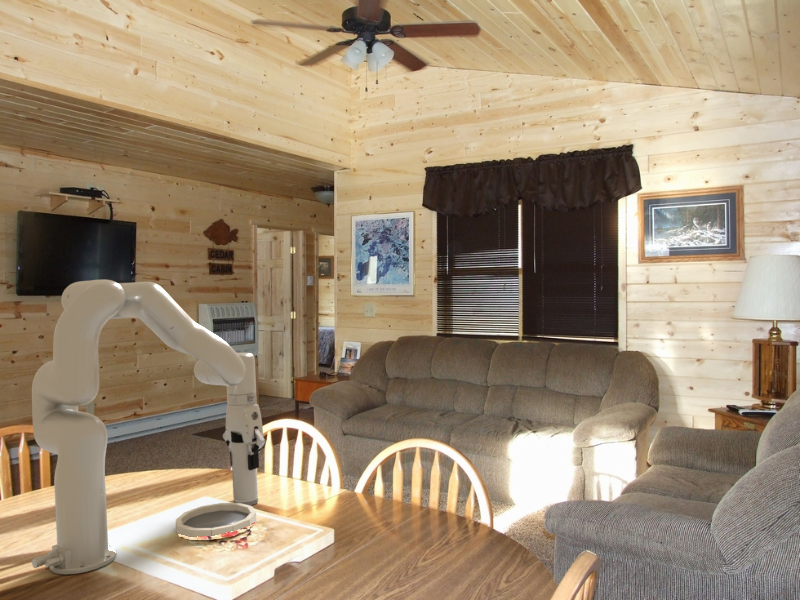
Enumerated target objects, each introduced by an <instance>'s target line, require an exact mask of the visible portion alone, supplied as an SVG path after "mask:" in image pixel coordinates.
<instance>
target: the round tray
mask: <svg viewBox="0 0 800 600" xmlns="http://www.w3.org/2000/svg"><path fill="white" fill-rule="evenodd" d="M254 522H256V523H257V511H256V510H255V508H254V507H253V505H251V506H250V505H246V504H242V503H234V502H219V503H213V504H207V505H202V506H198V507H195V508H193V509H191V510H190V509H189V510H187V511H185V512H183V513H182V514H181V515H179V516H178V517H176V519H175V529H176V528H177V531H176V533H177V532H178V534H181V535H185V536H188V537H197V536H198V537H199V536H215V535H219V534H223V533H226V532H231V531H235V530H238V529H241V528H244V527H247V526H250V525H251V524H252V523H254Z"/></svg>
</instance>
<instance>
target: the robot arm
mask: <svg viewBox="0 0 800 600" xmlns="http://www.w3.org/2000/svg"><path fill="white" fill-rule="evenodd" d="M60 298H61V299H60V302H61V305H62V308H63V311H62V312H61V315H60V316H59V317H58V319H57V322H56V325H55V328H54V333H53V344H52V345H53V347H52V348H53V349H52V360H49V361H47V362H45V363H44V364H42V365H41V366H40V367H39V368H38V369H37V371H36V372H35V375H34V377H33V380H32V384H31V385H32V386H31V410H32V411H31V412H32V413H31V415H32V432H33V437H34V440H35V442H36V444H37V445H38V446H39V447H40V448H41V449H42V450H44V451H46V452H48V453H52V454H54V455H57V461H56V466H55V470H54V477H53V479H54V481H53V483H54V484H53V486H54V487H53V488H54V501H55V502H54V503H55V505H54V507H55V521H56V522H55V524H56V526H55V528H56V544H54V545H52V546H51V550H50V551H48V553H47V554H44V555H39V556H37V557H34V558H33V559H32V560H31V564H32V567H33V568H34V569H36V568H40V567H42V566H45V567H46V568H49V570H50V571H51V573H55V574H56V575H57V574H58V575H78V574H83V573H87V572H91V571H94V570H98V569H100V568H102V567H104V566H107V565H108V564H110V563H112V562H113V561H114V560H115V559H116V558H117V552H116V553H115V552H113V551H109V550H108V545H109V539H108V538H109V537H108V536H109V535H108V513H107V493H106V491H107V487H106V473H105V472H106V471H105V469H106V468H105V467H106V465H105V464H106V453H107V447H108V438H109V437H108V430H107V427H106V425H105V423H104V422H103V420H101V419H100V418H99V417H98V416H96V415H94V414H92V413H90V412H84V411H80V410H79V406H85V405H88V404H90V403H91V402H92V401H94V400H95V399H96V397H97V396H98V393H99V391H100V390H99V389H100V364H99V341H100V336H101V332H102V329H103V328H104V326H105V325H106V323H107V322H108V321H109V320H110V319H111V320H112V319H113V320H114V319H115V320H116V319H139V320H141V322H142V323H143V324H144V325H145V326H146V327H147V328H148V329H150V331H152V332H153V334H155V335H156V336H157V337H158V339H160V341H162V342H163V343H164V345H166V346H167V347H169V348H171V349H172V350H175V351H177V352H180V353H182V354H185V355H188V356H191V357H194V358H195V359H197V361H196V362H195V364H194V367H193V375H194V377H195V378H196V379H197V380H198V381H199V382H201V383H202V384H205V385H212V386H225V387H226V401H227V402H226V404H227V405H226V413H225V431H224V433H223V434H222V438H223V439H224V441H225V444H226V446H227V448H228V452H229V457H230V467H232V453H231V439H232V438H231V431H232V433H237V434H238V435H242V437H243V442H244V443H245V444H247V448H248V451H249V454H250V455H248V469H249V470H253V469H256V468H257V469H259V468H260V456H259V455H260V453H261V450H262V449H263V447H264V445H265V444H266V439H265V437H264V430H263V420H262V413H261V410H260V409H261V408H260V406H259V404H258V402H257V401H258V398H257V381H256V380H257V378H256V375H257V374H256V361H255V360H256V357H255V355H254V354H253V353H251V352H236V351H235V349H234V348H232V346H230V345H231V344H229V343H228V342H226V341H225V340H224V339H223V338H221V337H220V336H218V335H217V334H215V333H214V332H212V331H211V330H209V329H207V328H206V327H204V326H203V325H200V324H199V323H197V322H196V321H195V320H194V319H193V318H191V317H190V315H189V314H188V313H187V312H186V311H185V310H184V309H183V308H182V307H181V306H180V305H179V304H178V302H177V301H175V300H174V298H173V297H172V296H171V295H170V294H169V293H168V292H167V291H166V290H165V289H164V288H163V287H162V286H161V285H160V284H158V283H155V282H154V281H153V282H152V281H136V282H119V283H118V282H116V281H115V280H111V279H93V280H84V281H83V280H81V281H75V282H73V283H70V284H69V285H68V286H67V287H66V288H64V290H63V292H62V294H61V297H60ZM252 439H254V442H252ZM253 444H254V448H252V445H253Z"/></svg>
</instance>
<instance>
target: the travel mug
mask: <svg viewBox="0 0 800 600" xmlns="http://www.w3.org/2000/svg"><path fill="white" fill-rule="evenodd" d="M231 438H232V439H231V451H230V452H231V453H232V466H231V468H232V469H231V470H232V471H231V472H232V473H231V474H232V475H231V476H232V494H233V497H232V498H233V503H242V504H246V505H250V506H254V505H256V504H257V503H258V502H259V497H258V496H259V495H258V471H257V470H258V468H256V469H253V470H249V469H248V455H250V454H249V451H248V448H247V444H245V443H244V442H243V437H242V435H238V434H237V433H232V431H231ZM252 442H254V439H252ZM252 448H254V444H253V445H252Z"/></svg>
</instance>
